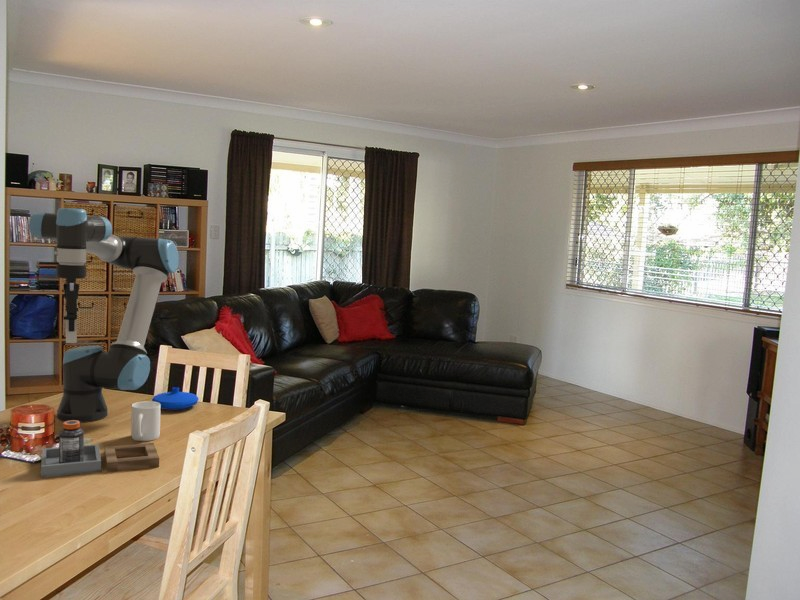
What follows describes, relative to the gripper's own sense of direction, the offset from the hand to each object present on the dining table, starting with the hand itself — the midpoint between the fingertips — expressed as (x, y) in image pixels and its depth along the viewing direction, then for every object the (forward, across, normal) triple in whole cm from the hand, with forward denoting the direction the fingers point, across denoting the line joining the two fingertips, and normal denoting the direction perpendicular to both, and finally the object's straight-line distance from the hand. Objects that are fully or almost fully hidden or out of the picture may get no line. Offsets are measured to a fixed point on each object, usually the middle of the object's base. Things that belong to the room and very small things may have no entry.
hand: (71, 338), depth 193 cm
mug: (+32, -1, +20) cm, 38 cm away
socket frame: (+32, +16, +15) cm, 38 cm away
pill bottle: (+31, +16, 0) cm, 35 cm away
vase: (+32, -34, +34) cm, 58 cm away
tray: (+32, +16, 0) cm, 36 cm away
